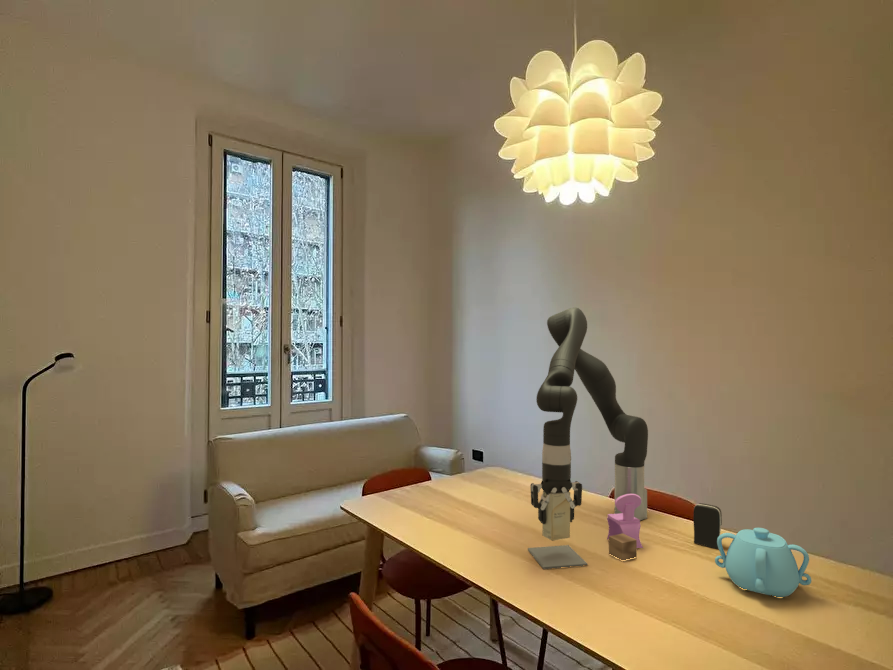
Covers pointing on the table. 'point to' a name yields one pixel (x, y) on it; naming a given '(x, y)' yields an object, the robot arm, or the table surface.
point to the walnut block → (622, 546)
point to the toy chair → (625, 518)
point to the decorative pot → (762, 562)
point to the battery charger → (707, 524)
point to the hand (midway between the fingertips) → (556, 522)
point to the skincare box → (557, 517)
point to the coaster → (556, 556)
